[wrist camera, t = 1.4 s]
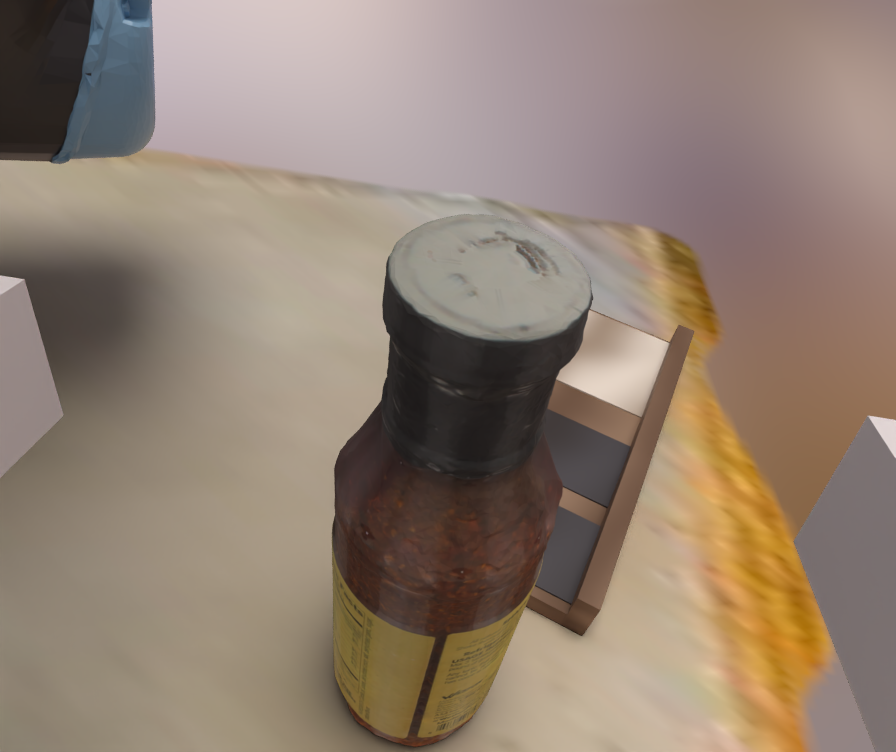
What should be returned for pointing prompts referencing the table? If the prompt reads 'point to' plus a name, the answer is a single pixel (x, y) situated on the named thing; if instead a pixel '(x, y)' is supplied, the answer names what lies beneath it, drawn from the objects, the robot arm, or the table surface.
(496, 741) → the table surface
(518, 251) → the sauce bottle
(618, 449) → the trap channel board
